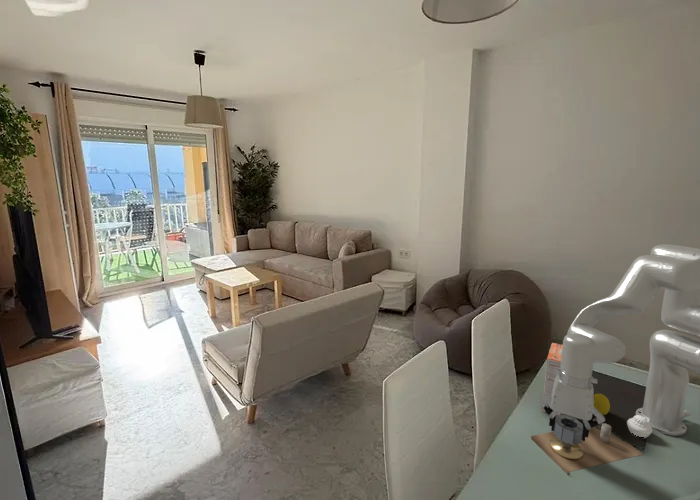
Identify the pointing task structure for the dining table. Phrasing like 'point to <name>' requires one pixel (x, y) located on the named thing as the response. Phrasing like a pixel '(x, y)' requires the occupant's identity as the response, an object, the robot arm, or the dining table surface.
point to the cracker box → (552, 369)
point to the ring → (568, 429)
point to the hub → (566, 449)
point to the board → (590, 449)
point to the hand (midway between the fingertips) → (567, 432)
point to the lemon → (601, 403)
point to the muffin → (639, 426)
